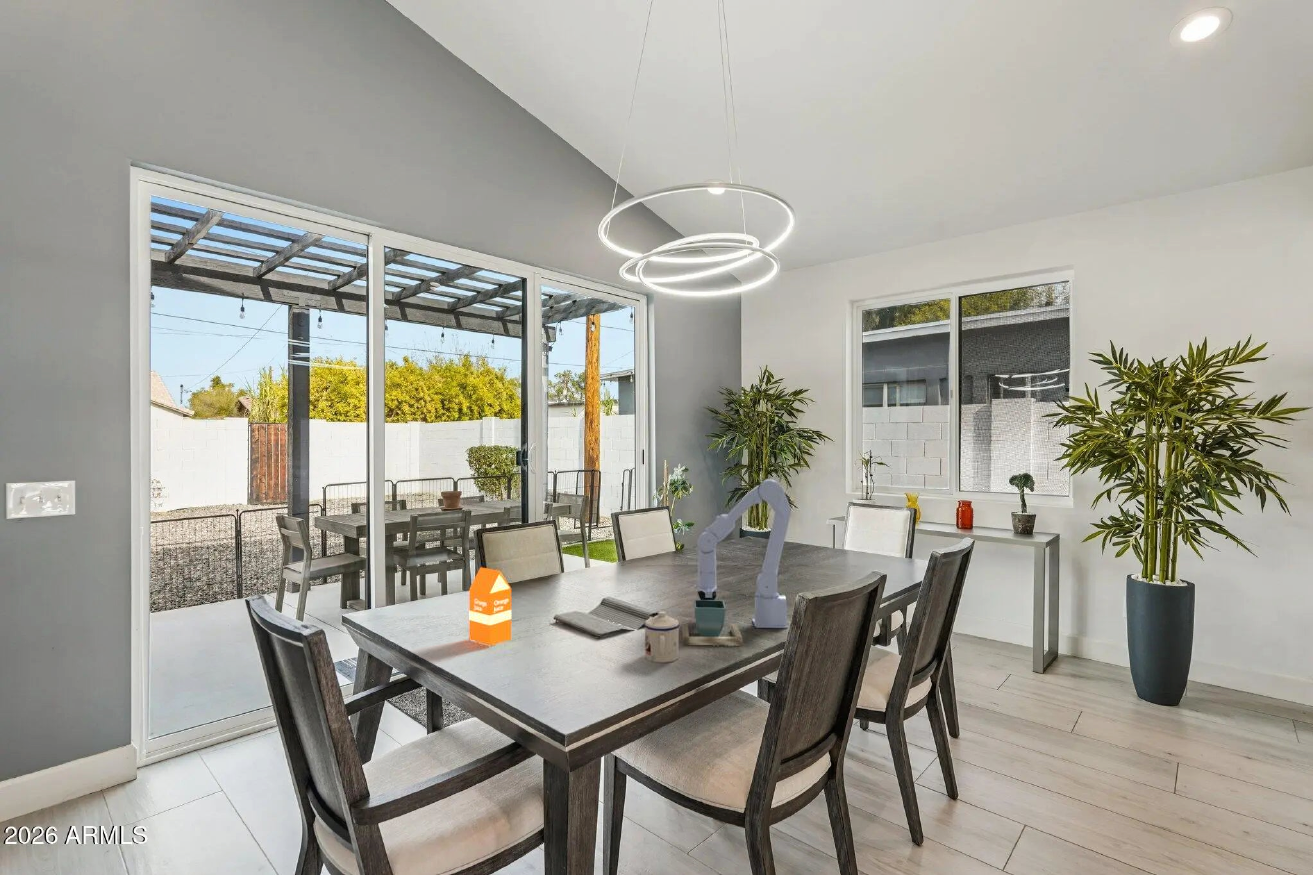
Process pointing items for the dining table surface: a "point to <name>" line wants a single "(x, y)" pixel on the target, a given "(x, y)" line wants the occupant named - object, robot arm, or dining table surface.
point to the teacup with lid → (661, 638)
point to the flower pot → (709, 617)
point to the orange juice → (490, 608)
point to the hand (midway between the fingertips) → (706, 615)
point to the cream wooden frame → (713, 638)
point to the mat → (607, 617)
